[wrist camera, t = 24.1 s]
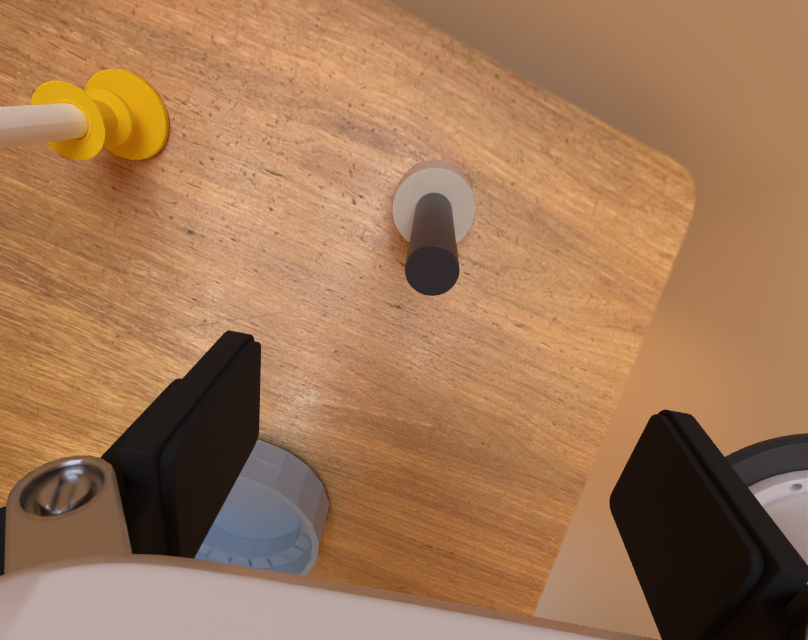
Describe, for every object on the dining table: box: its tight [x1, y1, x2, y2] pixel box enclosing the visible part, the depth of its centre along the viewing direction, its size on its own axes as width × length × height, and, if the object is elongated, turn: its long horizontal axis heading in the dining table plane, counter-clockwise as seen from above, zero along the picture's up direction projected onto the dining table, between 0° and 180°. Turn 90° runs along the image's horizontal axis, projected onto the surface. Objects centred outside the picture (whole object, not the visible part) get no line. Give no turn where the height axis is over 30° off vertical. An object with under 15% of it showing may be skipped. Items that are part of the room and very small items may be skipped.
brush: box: [392, 160, 476, 296], centre depth 24 cm, size 5×5×13 cm
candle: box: [0, 69, 169, 160], centre depth 22 cm, size 5×5×16 cm
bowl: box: [194, 440, 329, 576], centre depth 42 cm, size 15×15×5 cm
